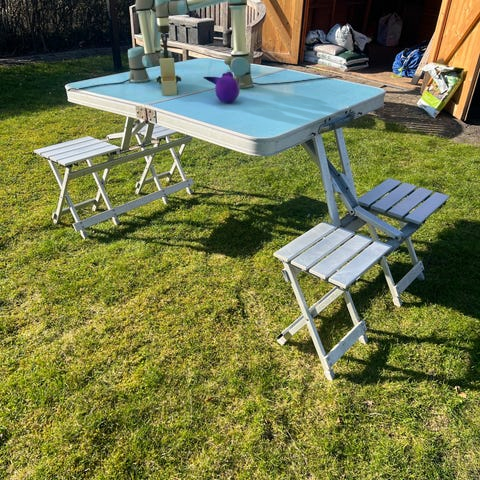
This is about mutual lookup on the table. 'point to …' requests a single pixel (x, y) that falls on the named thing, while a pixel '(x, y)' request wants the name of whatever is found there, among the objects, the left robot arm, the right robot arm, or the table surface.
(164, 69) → the beige boxy piece
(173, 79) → the chest
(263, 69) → the table surface
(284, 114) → the table surface
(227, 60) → the teapot
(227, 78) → the toy
